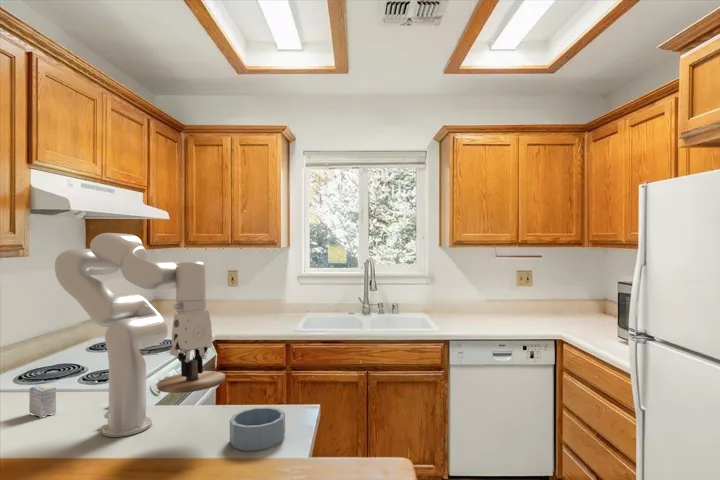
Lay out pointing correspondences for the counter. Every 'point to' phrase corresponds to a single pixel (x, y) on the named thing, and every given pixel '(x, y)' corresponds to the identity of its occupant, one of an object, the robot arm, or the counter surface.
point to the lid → (191, 381)
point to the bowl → (257, 429)
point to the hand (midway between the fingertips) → (192, 374)
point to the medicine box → (42, 400)
